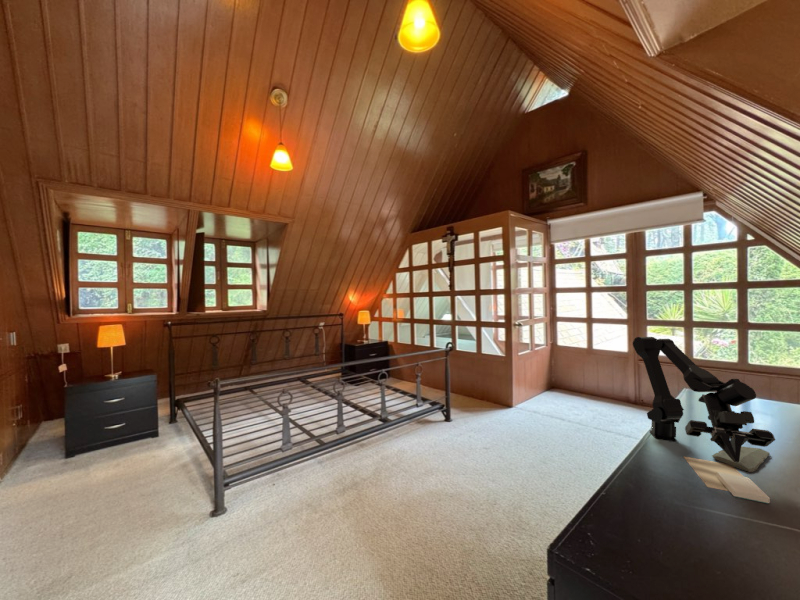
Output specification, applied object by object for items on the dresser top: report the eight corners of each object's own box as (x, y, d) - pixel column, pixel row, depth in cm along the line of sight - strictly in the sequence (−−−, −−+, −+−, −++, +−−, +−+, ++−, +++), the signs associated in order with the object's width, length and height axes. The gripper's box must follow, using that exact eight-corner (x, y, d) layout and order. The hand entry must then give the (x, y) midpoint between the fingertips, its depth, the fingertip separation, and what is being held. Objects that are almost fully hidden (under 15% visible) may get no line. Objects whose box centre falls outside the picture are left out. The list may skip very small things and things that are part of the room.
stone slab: (710, 462, 106) (753, 473, 98) (709, 453, 106) (752, 464, 98) (733, 448, 117) (774, 456, 109) (732, 440, 117) (773, 448, 109)
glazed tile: (716, 471, 96) (734, 490, 87) (748, 477, 93) (769, 498, 84) (716, 477, 96) (733, 496, 87) (747, 483, 93) (769, 504, 84)
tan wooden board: (683, 457, 108) (683, 456, 108) (731, 466, 103) (731, 464, 103) (707, 488, 92) (707, 486, 92) (766, 500, 86) (766, 498, 86)
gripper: (689, 394, 100) (704, 444, 91) (772, 404, 93) (797, 459, 83) (679, 410, 108) (691, 458, 98) (755, 420, 100) (776, 473, 90)
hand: (736, 461), depth 92 cm, fingers closed
